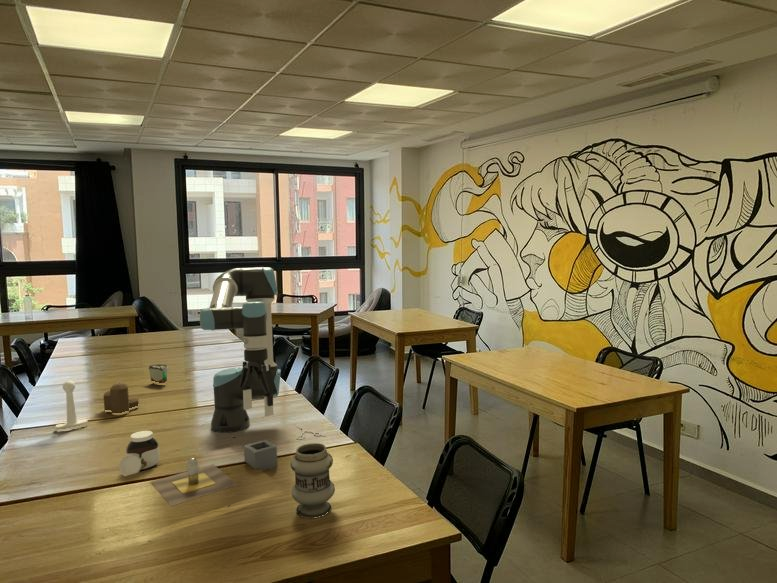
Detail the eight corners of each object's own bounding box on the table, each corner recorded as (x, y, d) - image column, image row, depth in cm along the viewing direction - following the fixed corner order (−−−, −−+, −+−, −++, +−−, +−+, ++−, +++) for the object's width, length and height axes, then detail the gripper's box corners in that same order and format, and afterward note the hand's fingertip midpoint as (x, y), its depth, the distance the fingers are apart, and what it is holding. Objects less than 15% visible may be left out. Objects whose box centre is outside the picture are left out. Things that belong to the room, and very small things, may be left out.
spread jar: (160, 460, 189) (158, 428, 187) (159, 473, 178) (157, 439, 177) (122, 466, 184) (119, 433, 183) (118, 480, 174) (116, 445, 173)
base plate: (150, 486, 169) (150, 481, 169) (213, 468, 182) (212, 463, 181) (171, 511, 154) (170, 505, 153) (238, 489, 166) (237, 484, 166)
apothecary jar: (283, 510, 153) (281, 448, 151) (317, 495, 162) (315, 436, 160) (309, 525, 145) (306, 460, 143) (344, 509, 153) (342, 447, 151)
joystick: (57, 433, 217) (53, 384, 215) (55, 428, 223) (51, 380, 221) (88, 427, 224) (84, 379, 222) (85, 422, 230) (82, 376, 228)
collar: (244, 465, 183) (243, 445, 183) (266, 459, 188) (265, 439, 188) (255, 473, 177) (254, 452, 177) (277, 466, 182) (276, 446, 182)
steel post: (187, 483, 168) (185, 458, 167) (196, 480, 170) (195, 455, 169) (190, 486, 165) (189, 461, 165) (200, 483, 167) (198, 458, 166)
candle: (137, 413, 240) (135, 380, 238) (102, 418, 235) (100, 384, 233) (139, 405, 253) (136, 373, 251) (106, 409, 248) (103, 376, 246)
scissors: (299, 441, 204) (284, 424, 222) (299, 442, 204) (284, 426, 222) (325, 435, 208) (309, 420, 226) (325, 437, 209) (309, 421, 226)
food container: (174, 384, 288) (173, 365, 287) (164, 386, 282) (163, 368, 281) (159, 381, 294) (158, 362, 293) (149, 383, 289) (148, 365, 288)
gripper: (227, 346, 186) (229, 408, 187) (265, 353, 168) (268, 421, 169) (246, 344, 191) (249, 404, 192) (286, 350, 173) (288, 416, 174)
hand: (258, 412), depth 180 cm, fingers open, 13 cm apart
